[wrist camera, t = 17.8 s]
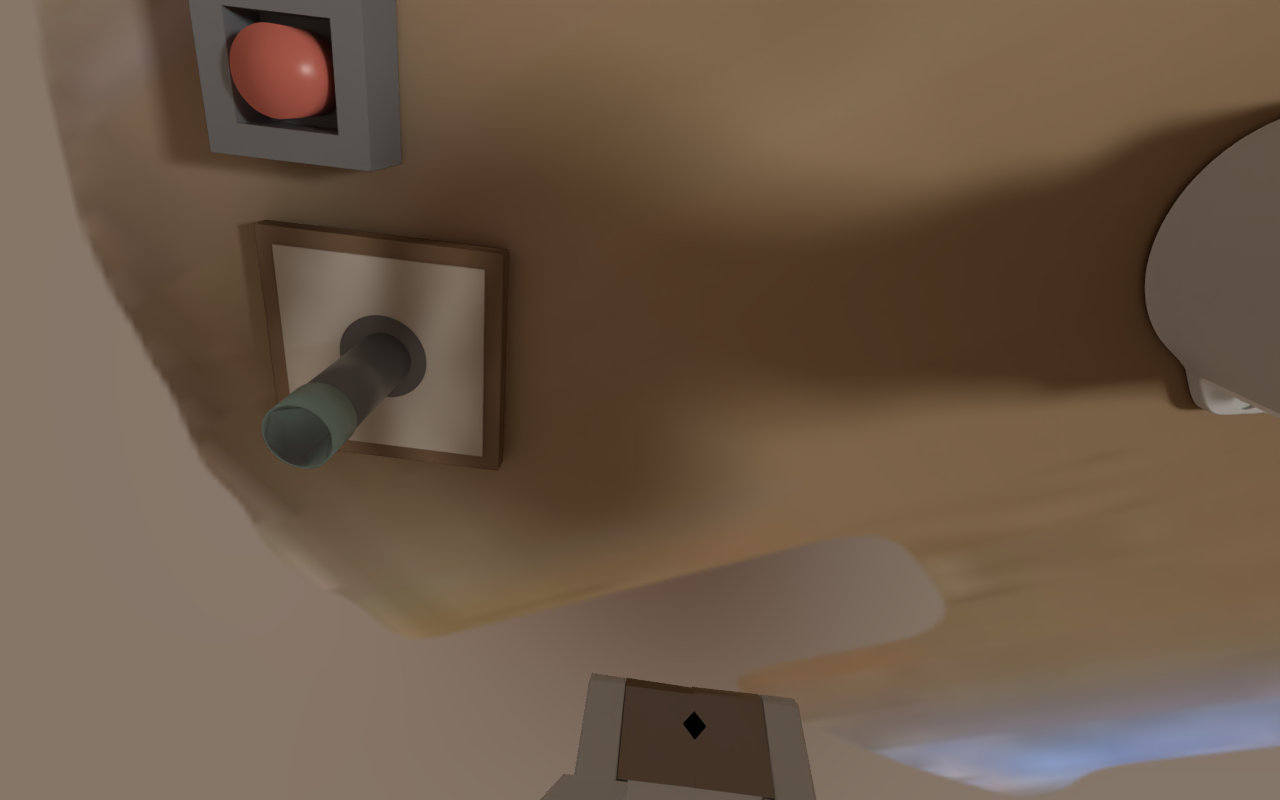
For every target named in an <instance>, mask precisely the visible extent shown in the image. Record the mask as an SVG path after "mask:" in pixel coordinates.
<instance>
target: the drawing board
mask: <svg viewBox="0 0 1280 800" xmlns="http://www.w3.org/2000/svg"><path fill="white" fill-rule="evenodd" d="M254 227H255V235H256V243H257V251H258V258H259V266H260V274H261V282H262V289H263V297H264V305H265V313H266V320H267V328H268V336H269V344H270V351H271V359H272V367H273V375H274V382H275V390H276V398H277V404H278V403H279V402H280V401H282V400H283V399H284V398H286V397H287V396H288V395H289V394H291V393H292V392H293V391H295V390H296V389H297V388H298V387H300V386H302V385H304V384H307V383H308V382H309V381H311V380H312V379H313V378H315V377H316V376H317V375H318V374H320V373H321V372H322V371H323V370H325V369H326V368H327V367H329V366H330V365H331V364H332V363H334V362H335V361H336V360H337V359H339V358H340V357H341V356H343V355H344V354H345V353H346V352H348V351H349V350H350V349H351V348H353V347H354V346H355V345H356V344H358V343H359V342H360V341H362V340H363V339H364V338H365V337H367V336H369V335H371V334H375V333H384V334H389V335H391V336H393V337H395V338H397V339H398V340H400V341H401V342H402V343H403V344H404V346H405V347H406V348H407V350H408V352H409V355H410V358H411V367H410V370H409V372H408V374H407V375H406V377H405V378H404V379H403V380H402V381H401V382H400V383H399V384H398V385H397V386H396V387H395V388H394V389H393V390H392V391H391V392H390V393H389V394H388V395H387V396H386V397H385V399H384V400H383V401H382V402H381V403H380V404H379V405H378V406H377V407H376V408H375V409H374V410H373V411H372V412H371V413H370V414H369V415H368V416H367V417H366V418H365V419H364V420H363V421H362V423H361V424H360V425H359V426H358V427H357V428H356V429H355V431H354V433H353V435H352V436H351V437H350V438H349V439H348V440H347V441H346V442H345V443H344V444H343V445H342V446H341V448H340V449H339V450H338V451H345V452H354V453H362V454H370V455H378V456H386V457H394V458H402V459H410V460H418V461H426V462H434V463H442V464H450V465H458V466H466V467H474V468H482V469H490V470H499V468H500V466H501V464H502V462H503V430H504V393H505V356H506V319H507V281H508V249H500V248H492V247H484V246H475V245H467V244H459V243H451V242H443V241H435V240H426V239H418V238H410V237H402V236H394V235H385V234H377V233H369V232H361V231H353V230H344V229H336V228H328V227H320V226H312V225H304V224H295V223H287V222H279V221H271V220H264V221H261V222H258V223H255V224H254Z"/></svg>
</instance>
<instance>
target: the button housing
mask: <svg viewBox="0 0 1280 800" xmlns="http://www.w3.org/2000/svg"><path fill="white" fill-rule="evenodd" d="M188 2H189V8H190V15H191V22H192V29H193V35H194V42H195V49H196V55H197V62H198V69H199V76H200V82H201V89H202V96H203V102H204V109H205V116H206V123H207V129H208V136H209V143H210V149H211V152H214V153H222V154H231V155H239V156H247V157H255V158H264V159H272V160H280V161H288V162H297V163H305V164H313V165H321V166H330V167H338V168H346V169H354V170H362V171H375V170H379V169H383V168H386V167H390V166H394V165H398V164H402V160H401V134H400V107H399V80H398V53H397V27H396V0H188ZM260 22H266V23H273V24H279V25H286V26H292V27H298V28H304V29H308V30H311V31H314V32H316V33H318V34H319V35H321V36H322V37H324V38H325V39H326V40H327V41H328V42H329V43H330V44H331V45H332V53H333V66H334V80H335V94H336V108H335V109H334V110H333V111H331V112H330V113H328V114H326V115H323V116H318V117H305V118H292V119H276V118H271V117H268V116H266V115H264V114H262V113H260V112H258V111H257V110H255V109H254V108H253V107H252V106H250V105H249V104H248V103H247V102H246V100H245V99H244V98H243V97H242V95H241V94H240V93H239V91H238V89H237V87H236V86H235V83H234V81H233V78H232V75H231V70H230V62H229V58H230V50H231V46H232V43H233V41H234V39H235V37H236V36H237V35H238V33H239V32H240V31H241V30H242V29H244V28H245V27H247V26H249V25H251V24H254V23H260Z"/></svg>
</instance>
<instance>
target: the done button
mask: <svg viewBox="0 0 1280 800" xmlns="http://www.w3.org/2000/svg"><path fill="white" fill-rule="evenodd" d="M229 62H230V70H231V75H232V78H233V81H234V83H235V86H236V87H237V89H238V91H239V93H240V94H241V95H242V97H243V98H244V99H245V100H246V102H247V103H248V104H249V105H250V106H252V107H253V108H254V109H255V110H257V111H258V112H260V113H262V114H264V115H266V116H268V117H271V118H276V119H292V118H305V117H318V116H323V115H326V114H328V113H330V112H331V111H333V110H334V109H335V108H336V94H335V80H334V66H333V53H332V45H331V44H330V43H329V42H328V41H327V40H326V39H325V38H324V37H322V36H321V35H319V34H318V33H316V32H314V31H311V30H308V29H304V28H298V27H292V26H286V25H279V24H273V23H266V22H260V23H254V24H251V25H249V26H247V27H245V28H244V29H242V30H241V31H240V32H239V33H238V35H237V36H236V37H235V39H234V41H233V43H232V46H231V50H230V58H229Z"/></svg>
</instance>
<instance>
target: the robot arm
mask: <svg viewBox="0 0 1280 800" xmlns="http://www.w3.org/2000/svg"><path fill="white" fill-rule="evenodd" d="M1145 300H1146V306H1147V311H1148V315H1149V318H1150V321H1151V323H1152V326H1153V328H1154V330H1155V332H1156V334H1157V335H1158V337H1159V338H1160V340H1161V341H1162V342H1163V344H1164V345H1165V346H1166V347H1167V348H1168V349H1169V350H1170V351H1171V352H1172V353H1173V354H1174V356H1175V357H1176V358H1177V359H1178V360H1179V361H1180V362H1181V363H1182V365H1183V366H1184V368H1185V370H1186V374H1187V380H1188V385H1189V389H1190V393H1191V396H1192V398H1193V401H1194V402H1195V404H1196V405H1197V406H1198V407H1200V408H1202V409H1204V410H1207V411H1209V412H1211V413H1214V414H1218V415H1232V414H1252V413H1268V414H1271V415H1273V416H1275V417H1277V418H1279V419H1280V119H1278V120H1276V121H1274V122H1272V123H1270V124H1267V125H1265V126H1264V127H1262V128H1260V129H1258V130H1256V131H1254V132H1252V133H1251V134H1249V135H1247V136H1246V137H1244V138H1242V139H1241V140H1239V141H1238V142H1236V143H1235V144H1233V145H1232V146H1231V147H1229V148H1228V149H1227V150H1225V151H1224V152H1223V153H1221V154H1220V155H1219V156H1218V157H1217V158H1215V159H1214V160H1213V161H1212V162H1211V163H1210V164H1209V165H1207V166H1206V167H1205V168H1204V169H1203V170H1202V171H1201V172H1200V173H1199V174H1198V175H1197V176H1196V177H1195V178H1194V179H1193V181H1192V182H1191V183H1190V184H1189V185H1188V186H1187V187H1186V189H1185V190H1184V191H1183V192H1182V194H1181V195H1180V196H1179V198H1178V199H1177V200H1176V202H1175V203H1174V205H1173V206H1172V208H1171V209H1170V211H1169V213H1168V214H1167V216H1166V218H1165V219H1164V221H1163V223H1162V225H1161V227H1160V229H1159V231H1158V233H1157V236H1156V238H1155V241H1154V243H1153V246H1152V249H1151V252H1150V255H1149V260H1148V264H1147V269H1146V277H1145ZM540 800H816V796H815V790H814V785H813V780H812V775H811V770H810V764H809V760H808V754H807V749H806V744H805V739H804V733H803V728H802V723H801V718H800V713H799V707H798V704H797V703H796V701H795V700H794V699H792V698H783V697H775V696H766V695H758V694H752V693H743V692H734V691H725V690H716V689H707V688H698V687H692V688H691V687H684V686H678V685H671V684H665V683H658V682H651V681H645V680H638V679H632V678H626V682H625V678H621V677H615V676H608V675H601V674H594V673H592V674H591V677H590V681H589V685H588V691H587V698H586V704H585V710H584V717H583V723H582V730H581V736H580V742H579V748H578V755H577V762H576V767H575V773H574V775H567V774H563V776H562V777H561V778H560V779H559V780H558V781H557V782H556V783H555V784H554V785H553V786H552V787H551V788H550V790H549V791H548V792H547V793H546V794H545V795H544V796H543V797H542V798H541V799H540Z"/></svg>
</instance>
